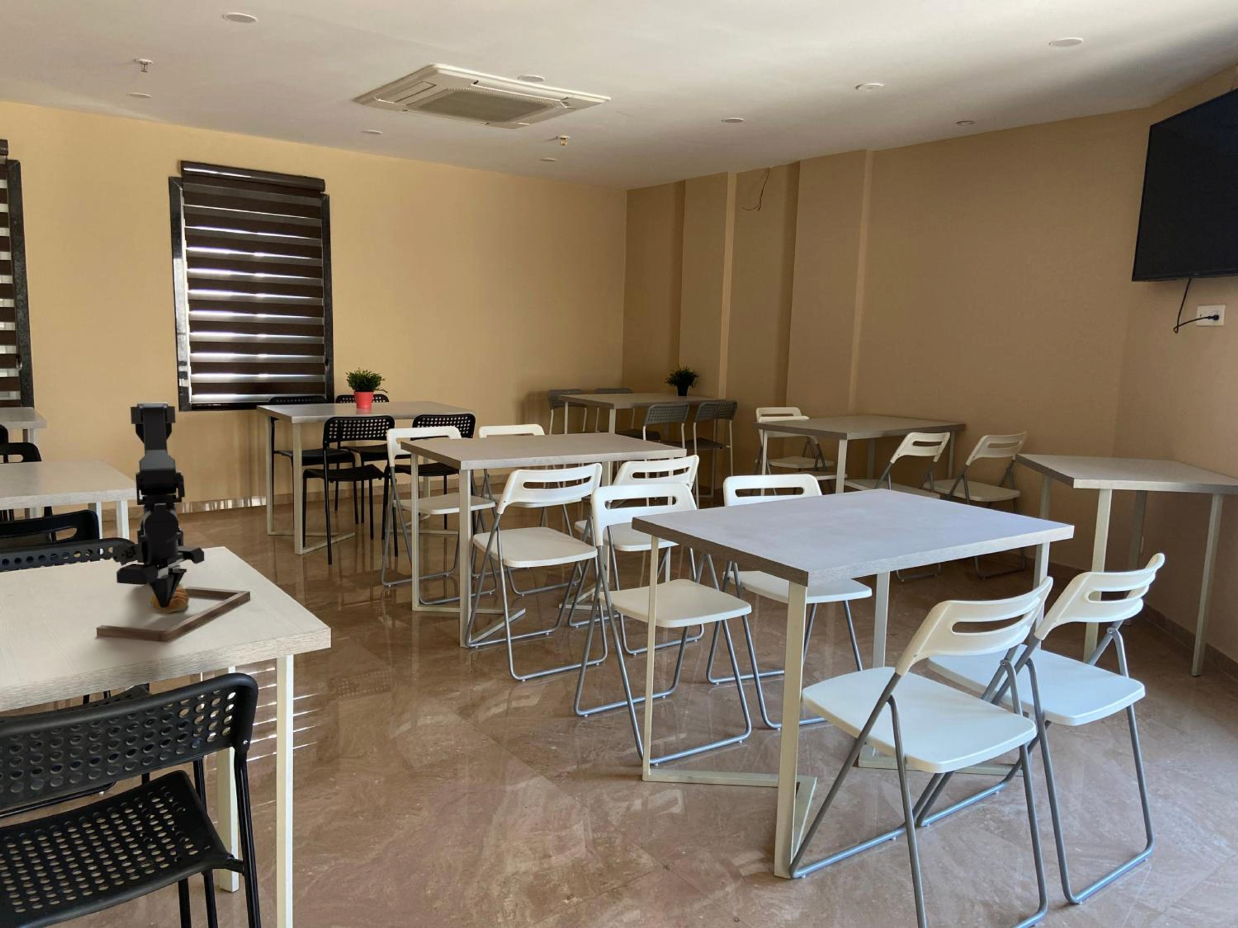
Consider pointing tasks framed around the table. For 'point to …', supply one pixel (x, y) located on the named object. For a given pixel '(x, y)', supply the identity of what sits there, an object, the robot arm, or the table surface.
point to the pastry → (172, 601)
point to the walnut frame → (184, 626)
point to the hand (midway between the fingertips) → (164, 607)
